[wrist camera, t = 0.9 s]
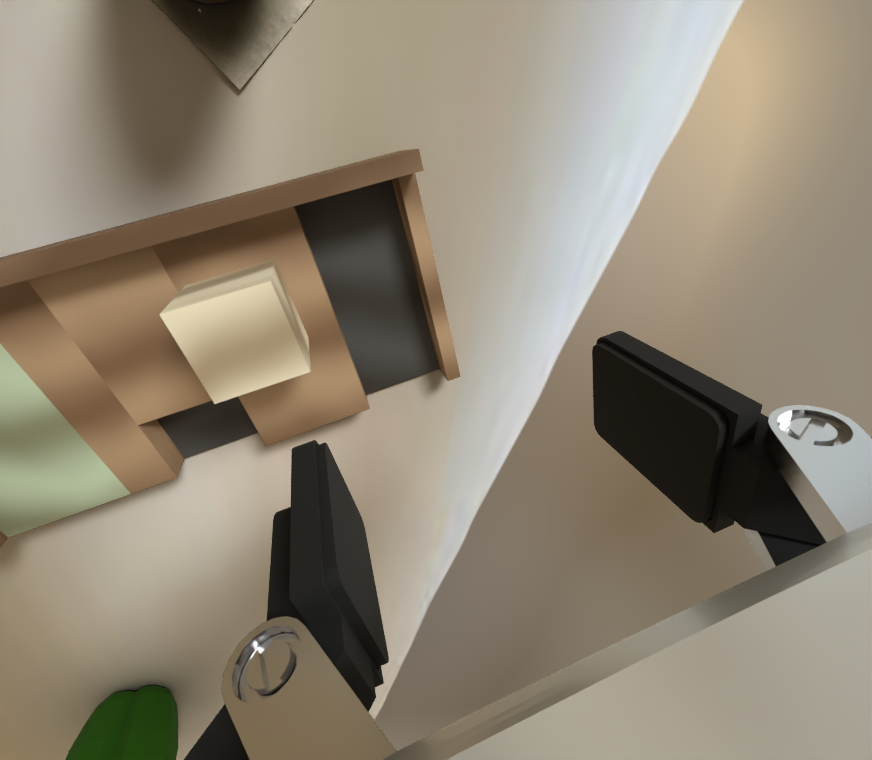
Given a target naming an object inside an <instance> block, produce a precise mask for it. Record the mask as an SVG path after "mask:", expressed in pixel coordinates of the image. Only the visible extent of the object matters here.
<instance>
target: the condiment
mask: <svg viewBox="0 0 872 760" xmlns="http://www.w3.org/2000/svg"><path fill="white" fill-rule="evenodd" d="M152 1H153V2H154V3H155V4H156V5H157V6H158V7H159V8H160V9H161V10H162V11H163V12H164V13H165V14H166V15H167V16H168V17H169V18H170V19H171V20H172V21H173V22H174V23H175V24H176V25H177V26H178V27H179V28H180V29H181V30H182V31H183V32H184V33H185V34H186V35H187V36H188V37H189V39H190V40H191V41H192V42H193V43H194V44H195V45H196V46H197V47H198V48H199V49H200V50H201V51H202V52H203V53H204V54H205V55H206V56H207V57H208V58H209V59H210V60H211V61H212V62H213V63H214V64H215V65H216V66H217V67H218V68H219V69H220V70H221V71H222V72H223V73H224V74H225V75H226V76H227V77H228V78H229V79H230V81H231V82H232V83H233V84H234V85H235V86H236V87H237V88H238V89H239V90H240V89H241V88H242V87H243V86H244V84H245V83H246V82H247V81H248V79H249V78H250V77H251V76H252V75H253V74H254V73H255V71H256V70H257V69H258V68H259V66H260V65H261V64H262V63H263V62H264V60H265V59H266V58H267V56H268V55H269V54H270V53H271V52H272V51H273V49H274V48H275V47H276V46H277V44H278V43H279V42H280V41H281V39H282V38H283V37H284V36H285V34H286V33H287V32H288V31H289V30H290V28H291V27H292V26H293V24H295V23H296V21H297V20H298V18H299V17H300V16H301V14H302V13H303V12H304V11H305V10H306V8H307V7H308V6H309V5H310V3H311V2H312V1H313V0H152ZM199 8H200V9H201V13H200V12H199V11H198V9H199Z"/></svg>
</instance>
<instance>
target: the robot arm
mask: <svg viewBox="0 0 872 760" xmlns="http://www.w3.org/2000/svg"><path fill="white" fill-rule="evenodd" d="M592 356H593V397H594V425H595V429H596V431H597V432H598V434H599V435H600V436H601V437H602V438H603V439H604V440H605V441H606V442H607V443H608V444H609V445H611V446H612V447H613V448H614V449H615V450H616V451H617V452H618V453H619V454H620V455H622V456H623V457H624V458H625V459H626V460H627V461H628V462H629V463H630V464H632V465H633V466H634V467H635V468H636V469H637V470H638V471H639V472H640V473H641V474H642V475H644V476H645V477H646V478H647V479H648V480H649V481H650V482H651V483H652V484H653V485H655V486H656V487H657V488H658V489H659V490H660V491H661V492H662V493H663V494H665V495H666V496H667V497H668V498H669V499H670V500H671V501H672V502H673V503H674V504H676V505H677V506H678V507H679V508H680V509H681V510H682V511H683V512H684V513H685V514H687V515H688V516H689V517H690V518H691V519H692V520H694V521H696V522H698V523H701V522H702V523H703V524H704V525H706V526H707V527H708V528H709V529H710V530H711V531H712V532H713V533H715V532H718V531H720V530H722V529H724V528H726V527H728V526H731V525H733V524H734V521H736V522H737V523H738V524H739V525H741V526H742V527H743V528H744V531H745V533H746V535H747V537H748V539H749V541H750V543H751V545H752V547H753V549H754V550H755V553H756V555H757V557H758V559H759V561H760V563H761V565H762V567H763V569H764V571H765V572H764V573H762V574H760V575H757V576H755V577H753V578H751V579H749V580H747V581H745V582H742V583H740V584H738V585H736V586H734V587H732V588H730V589H728V590H726V591H724V592H721V593H719V594H717V595H715V596H713V597H711V598H709V599H707V600H705V601H703V602H701V603H699V604H697V605H694V606H692V607H690V608H688V609H686V610H684V611H682V612H680V613H678V614H676V615H674V616H671V617H669V618H667V619H665V620H663V621H661V622H659V623H657V624H655V625H653V626H651V627H649V628H646V629H645V630H642V631H640V632H638V633H636V634H634V635H632V636H630V637H628V638H626V639H624V640H622V641H620V642H617V643H615V644H613V645H611V646H609V647H607V648H605V649H603V650H601V651H599V652H597V653H595V654H593V655H591V656H588V657H586V658H584V659H582V660H580V661H578V662H576V663H574V664H572V665H570V666H568V667H566V668H564V669H562V670H560V671H558V672H556V673H554V674H552V675H549V676H547V677H546V678H543V679H542V680H539V681H537V682H535V683H533V684H531V685H529V686H527V687H525V688H523V689H521V690H519V691H517V692H515V693H512V694H510V695H508V696H506V697H504V698H502V699H500V700H498V701H496V702H494V703H492V704H490V705H488V706H486V707H484V708H482V709H480V710H478V711H476V712H474V713H472V714H470V715H468V716H466V717H464V718H462V719H460V720H458V721H456V722H454V723H452V724H450V725H448V726H446V727H444V728H442V729H440V730H438V731H436V732H434V733H433V734H430V735H429V736H427V737H425V738H423V739H421V740H419V741H417V742H415V743H413V744H411V745H409V746H407V747H405V748H403V749H401V750H399V751H396V749H395V748H394V747H393V745H392V744H391V742H390V741H389V740H388V738H387V737H386V736H385V734H384V733H383V731H382V730H381V729H380V727H379V726H378V725H377V723H376V722H375V721H374V719H373V718H372V716H371V715H370V714H369V710H370V708H371V706H372V704H373V702H374V700H375V698H376V694H375V687H377V686H379V685H381V684H383V683H384V682H383V676H382V670H381V665H384V664H386V663H388V661H389V659H388V651H387V646H386V641H385V635H384V630H383V624H382V619H381V614H380V608H379V603H378V597H377V592H376V587H375V581H374V576H373V570H372V565H371V559H370V554H369V549H368V543H367V538H366V532H365V528H364V524H363V521H362V518H361V515H360V513H359V511H358V509H357V507H356V505H355V502H354V500H353V498H352V496H351V494H350V492H349V490H348V488H347V485H346V483H345V481H344V479H343V477H342V475H341V473H340V470H339V468H338V466H337V464H336V462H335V460H334V458H333V456H332V453H331V451H330V449H329V447H328V445H327V444H326V443H323V444H320V445H319V444H318V443H317V441H316V440H314V441H311V442H308V443H305V444H302V445H300V446H297V447H294V448H293V449H292V468H291V507H289V508H287V509H284V510H281V511H279V512H276V514H275V515H274V520H273V534H272V549H271V565H270V580H269V595H268V611H267V621H266V622H264V623H262V624H260V625H259V626H258V627H256V628H255V629H254V630H252V631H251V632H250V633H249V634H248V635H247V636H246V637H245V638H244V639H243V640H242V641H241V642H240V643H239V644H238V646H237V648H236V649H235V651H234V652H233V654H232V655H231V657H230V659H229V661H228V664H227V666H226V669H225V671H224V674H223V682H222V693H223V698H224V702H225V705H224V706H223V707H222V709H221V710H220V711H219V713H218V714H217V715H216V717H215V718H214V720H213V721H212V722H211V724H210V725H209V726H208V728H207V729H206V730H205V732H204V733H203V734H202V736H201V737H200V738H199V740H198V741H197V742H196V744H195V745H194V747H193V748H192V749H191V751H190V752H189V753H188V755H187V756H186V757H185V759H184V760H872V437H870V436H869V435H868V434H867V433H866V432H865V431H864V430H863V429H862V428H861V427H860V426H859V425H858V424H856V423H855V422H854V421H852V420H851V419H850V418H848V417H846V416H844V415H841V414H840V413H837V412H835V411H831V410H828V409H825V408H820V407H814V406H807V405H793V406H786V407H782V408H779V409H777V410H774V411H773V412H772V413H771V414H770V415H769V418H768V417H767V416H765V415H763V414H761V409H762V404H760V403H758V402H756V401H754V400H752V399H750V398H748V397H746V396H744V395H743V394H741V393H739V392H737V391H735V390H733V389H731V388H729V387H727V386H725V385H723V384H722V383H720V382H718V381H716V380H714V379H712V378H710V377H708V376H706V375H704V374H703V373H701V372H699V371H697V370H695V369H693V368H691V367H689V366H687V365H685V364H683V363H682V362H680V361H678V360H676V359H674V358H672V357H670V356H668V355H666V354H664V353H663V352H660V351H659V350H657V349H655V348H653V347H651V346H649V345H647V344H645V343H644V342H642V341H640V340H638V339H636V338H634V337H632V336H630V335H628V334H626V333H624V332H622V331H617V332H615V333H612V334H609V335H607V336H603V337H601V338H599V339H598V340H597V344H596V345H595V346H594V347H593V351H592Z"/></svg>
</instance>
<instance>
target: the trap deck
mask: <svg viewBox="0 0 872 760" xmlns="http://www.w3.org/2000/svg"><path fill="white" fill-rule="evenodd" d="M419 171H423V166H422V162H421V157H420V152H419V149H414V150H404V151H398V152H394V153H390V154H386V155H383V156H379V157H375V158H371V159H368V160H364V161H360V162H357V163H353V164H349V165H345V166H342V167H338V168H334V169H330V170H327V171H323V172H319V173H315V174H312V175H308V176H304V177H300V178H297V179H293V180H289V181H285V182H282V183H278V184H274V185H270V186H267V187H263V188H259V189H256V190H252V191H248V192H244V193H241V194H237V195H233V196H229V197H226V198H222V199H218V200H214V201H211V202H207V203H203V204H199V205H196V206H192V207H188V208H184V209H181V210H177V211H173V212H169V213H166V214H162V215H158V216H154V217H151V218H147V219H143V220H140V221H136V222H132V223H128V224H125V225H121V226H117V227H113V228H110V229H106V230H102V231H98V232H95V233H91V234H87V235H83V236H80V237H76V238H72V239H68V240H65V241H61V242H57V243H53V244H50V245H46V246H42V247H39V248H35V249H31V250H27V251H24V252H20V253H16V254H12V255H9V256H5V257H1V258H0V548H1V546H2V545H3V544H4V542H5V541H6V540H7V538H8V537H11V536H14V535H17V534H20V533H22V532H25V531H28V530H31V529H34V528H36V527H39V526H42V525H45V524H48V523H50V522H53V521H56V520H59V519H62V518H65V517H67V516H70V515H73V514H76V513H79V512H81V511H84V510H87V509H90V508H93V507H95V506H98V505H101V504H104V503H107V502H109V501H112V500H115V499H118V498H121V497H124V496H126V495H129V494H131V493H134V492H137V491H140V490H143V489H146V488H148V487H151V486H154V485H157V484H160V483H162V482H165V481H168V480H171V479H174V478H176V477H178V474H179V471H180V469H181V466H182V463H183V461H184V458H186V457H189V456H192V455H195V454H198V453H200V452H203V451H206V450H209V449H212V448H215V447H218V446H220V445H223V444H226V443H229V442H232V441H235V440H238V439H240V438H243V437H246V436H249V435H252V434H255V433H259V434H260V436H261V438H262V439H263V441H264V443H265V445H269V444H272V443H275V442H278V441H280V440H283V439H286V438H289V437H292V436H295V435H297V434H300V433H303V432H306V431H309V430H311V429H314V428H317V427H320V426H323V425H325V424H328V423H331V422H334V421H337V420H340V419H342V418H345V417H348V416H351V415H354V414H356V413H359V412H362V411H365V410H368V409H370V407H369V404H368V401H367V397H366V394H369V393H372V392H375V391H377V390H380V389H383V388H386V387H389V386H392V385H395V384H397V383H400V382H403V381H406V380H409V379H412V378H415V377H417V376H420V375H423V374H426V373H429V372H432V371H435V370H437V369H440V370H441V372H442V373H443V375H444V376H445V378H446V379H447V381H449V380H452V379H455V378H458V377H460V373H459V368H458V364H457V359H456V355H455V350H454V346H453V341H452V337H451V332H450V328H449V323H448V319H447V314H446V310H445V305H444V301H443V297H442V292H441V288H440V283H439V279H438V274H437V270H436V265H435V261H434V256H433V252H432V247H431V243H430V238H429V234H428V229H427V225H426V220H425V216H424V211H423V207H422V202H421V198H420V194H419V189H418V185H417V180H416V176H415V173H416V172H419ZM274 259H275V260H276V262H277V265H278V267H279V269H280V272H281V274H282V277H283V279H284V281H285V284H286V286H287V288H288V291H289V293H290V295H291V298H292V300H293V302H294V305H295V307H296V309H297V312H298V314H299V316H300V319H301V321H302V323H303V326H304V328H305V330H306V333H307V335H308V338H309V354H310V369H311V372H309V373H306V374H303V375H300V376H297V377H294V378H291V379H288V380H285V381H282V382H279V383H276V384H273V385H270V386H267V387H264V388H261V389H258V390H255V391H252V392H249V393H246V394H243V395H240V396H237V397H234V398H231V399H229V400H226V401H223V402H220V403H217V404H214V402H213V401H212V399H211V397H210V396H209V394H208V393H207V391H206V389H205V388H204V386H203V384H202V383H201V381H200V380H199V378H198V376H197V375H196V373H195V371H194V370H193V368H192V367H191V365H190V363H189V362H188V360H187V359H186V357H185V355H184V354H183V352H182V350H181V349H180V347H179V346H178V344H177V342H176V341H175V339H174V337H173V336H172V334H171V333H170V331H169V329H168V328H167V326H166V324H165V323H164V321H163V320H162V318H161V316H160V315H159V314H160V313H161V312H162V311H163V310H164V309H165V308H166V306H167V305H168V304H169V303H170V302H171V301H172V300H173V299H174V298H175V296H176V295H177V294H178V293H179V292H180V291H181V290H182V289H183V287H184V286H186V285H189V284H193V283H196V282H199V281H203V280H206V279H210V278H213V277H216V276H220V275H223V274H227V273H230V272H233V271H237V270H240V269H244V268H247V267H251V266H254V265H257V264H261V263H264V262H268V261H271V260H274Z"/></svg>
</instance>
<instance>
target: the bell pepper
mask: <svg viewBox="0 0 872 760" xmlns="http://www.w3.org/2000/svg"><path fill="white" fill-rule="evenodd" d="M177 750H178V714H177V704H176V702H175V700H174V698H173V696H172V695H171V693H170V691H169V690H168V689H166V688H162V687H159V686H156V685H155V686H147V687H142V688H141V689H139V690H138V691H136V692H133V691H122V692H115V693H113V694H112V695H111V696H109V697H108V698H107V699H106V700H104V701H103V702H102V703H101V704H100V705H99V706H98V707H97V708H96V709H95V710H94V712H93V713H92V715H91V716H90V718H89V719H88V721H87V722H86V724H85V725H84V727H83V729H82V730H81V732H80V734H79V735H78V737H77V739H76V740H75V742H74V744H73V745H72V747H71V749H70V750H69V753H68V755H67V757H66V760H176V755H177Z"/></svg>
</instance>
